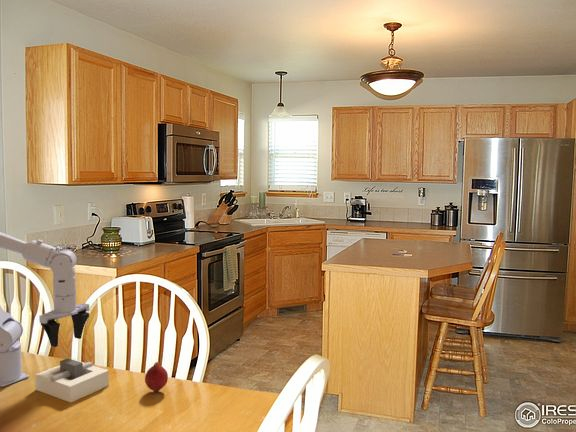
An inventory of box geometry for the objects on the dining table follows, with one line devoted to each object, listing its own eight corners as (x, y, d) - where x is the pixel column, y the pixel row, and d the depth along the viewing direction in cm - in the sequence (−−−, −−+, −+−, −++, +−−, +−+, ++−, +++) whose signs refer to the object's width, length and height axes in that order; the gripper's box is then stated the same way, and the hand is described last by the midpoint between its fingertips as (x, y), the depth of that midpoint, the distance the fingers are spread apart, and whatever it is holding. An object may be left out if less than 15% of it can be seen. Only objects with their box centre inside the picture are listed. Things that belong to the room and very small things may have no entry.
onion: (162, 397, 136) (161, 367, 135) (141, 395, 137) (140, 365, 136) (171, 388, 142) (171, 359, 141) (151, 385, 143) (151, 357, 142)
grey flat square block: (60, 380, 141) (59, 361, 141) (68, 377, 144) (67, 358, 143) (75, 386, 138) (74, 365, 138) (83, 382, 140) (82, 362, 140)
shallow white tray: (35, 389, 139) (35, 371, 139) (74, 374, 150) (74, 357, 149) (70, 402, 132) (70, 383, 132) (109, 385, 143) (108, 367, 142)
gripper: (50, 302, 137) (52, 352, 139) (96, 290, 150) (97, 337, 151) (33, 298, 141) (35, 347, 142) (79, 287, 153) (80, 332, 155)
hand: (66, 341), depth 147 cm, fingers open, 7 cm apart
